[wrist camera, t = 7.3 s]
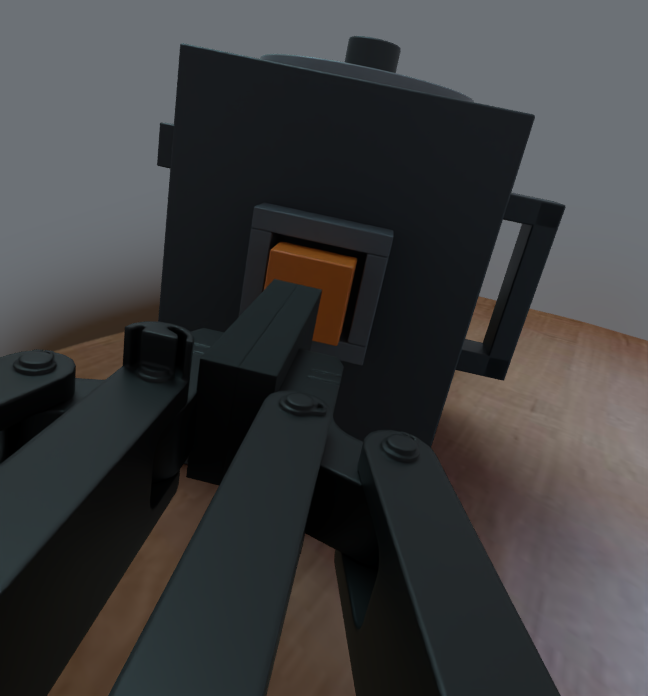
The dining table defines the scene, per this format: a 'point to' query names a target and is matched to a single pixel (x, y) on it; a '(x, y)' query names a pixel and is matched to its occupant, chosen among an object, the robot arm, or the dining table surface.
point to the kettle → (353, 215)
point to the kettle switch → (317, 282)
